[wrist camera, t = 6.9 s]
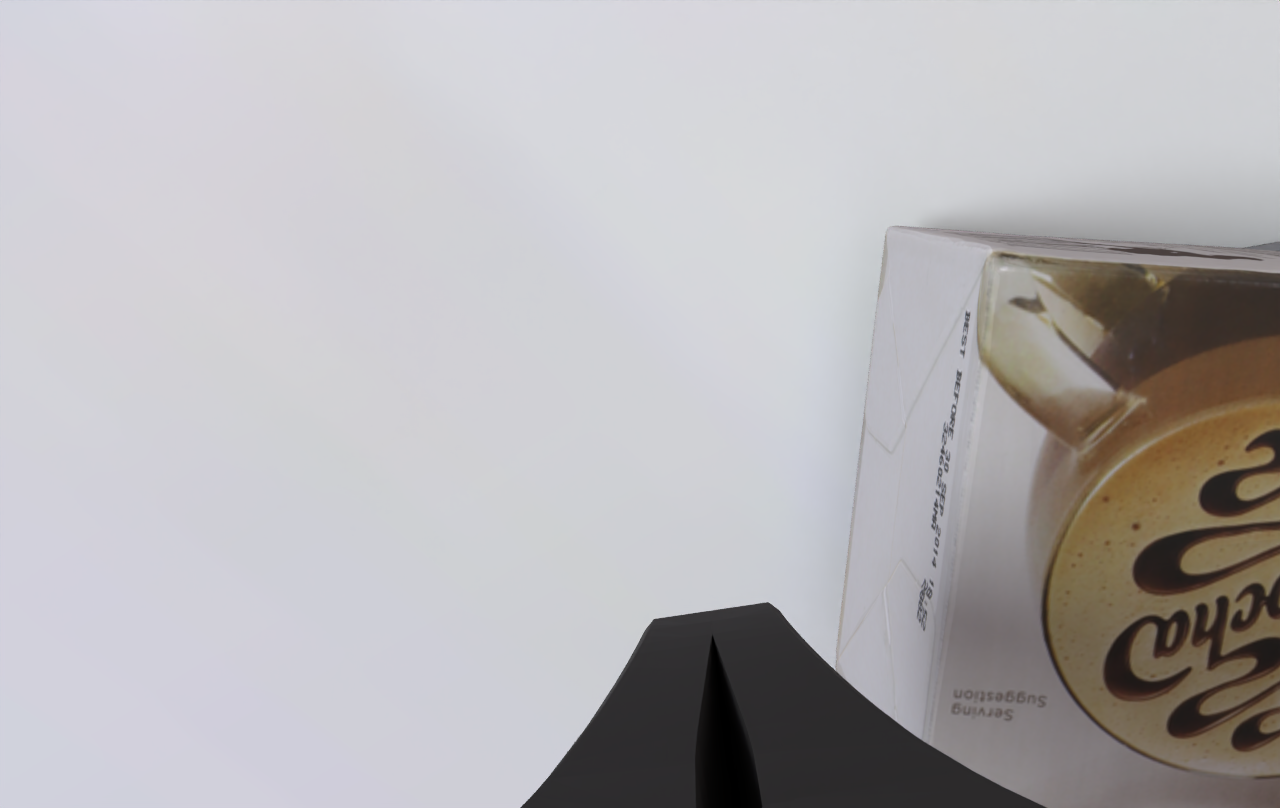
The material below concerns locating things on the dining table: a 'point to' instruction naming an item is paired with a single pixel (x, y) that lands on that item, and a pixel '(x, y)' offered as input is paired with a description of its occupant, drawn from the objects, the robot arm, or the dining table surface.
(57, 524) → the dining table surface
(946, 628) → the coffee box
